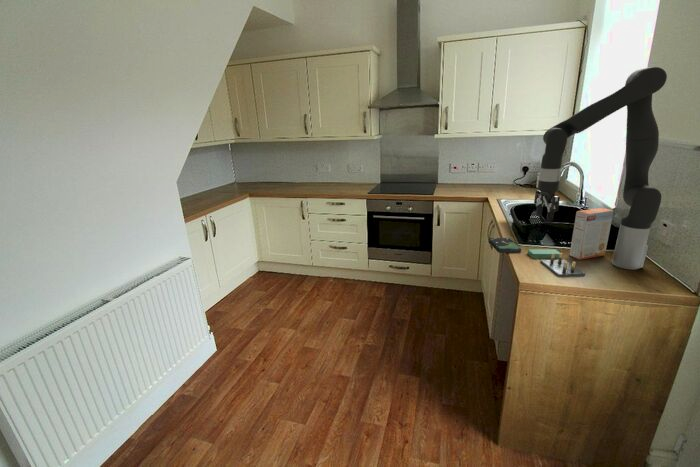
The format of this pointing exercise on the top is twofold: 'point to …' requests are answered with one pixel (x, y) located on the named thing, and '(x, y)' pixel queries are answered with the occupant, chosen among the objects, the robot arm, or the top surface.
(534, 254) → the board
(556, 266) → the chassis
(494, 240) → the disk drive
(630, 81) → the robot arm
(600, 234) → the cracker box
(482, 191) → the top surface
